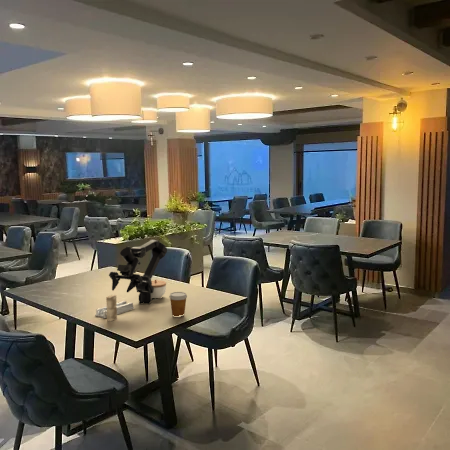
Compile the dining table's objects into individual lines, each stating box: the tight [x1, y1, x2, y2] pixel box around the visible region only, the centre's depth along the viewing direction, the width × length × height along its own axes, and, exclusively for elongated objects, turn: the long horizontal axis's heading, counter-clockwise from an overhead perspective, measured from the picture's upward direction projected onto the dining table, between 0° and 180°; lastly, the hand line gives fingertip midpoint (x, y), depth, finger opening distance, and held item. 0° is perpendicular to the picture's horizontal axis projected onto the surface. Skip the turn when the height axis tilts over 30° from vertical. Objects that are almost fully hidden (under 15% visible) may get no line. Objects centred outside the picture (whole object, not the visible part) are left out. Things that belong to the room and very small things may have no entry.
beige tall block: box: [105, 294, 118, 322], centre depth 240 cm, size 5×3×12 cm, turn 158°
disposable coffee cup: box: [168, 291, 188, 316], centre depth 247 cm, size 10×10×12 cm
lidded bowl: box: [151, 279, 167, 299], centre depth 281 cm, size 13×13×11 cm
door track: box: [95, 300, 135, 319], centre depth 253 cm, size 20×8×4 cm, turn 144°
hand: (119, 291), depth 246 cm, fingers open, 9 cm apart
